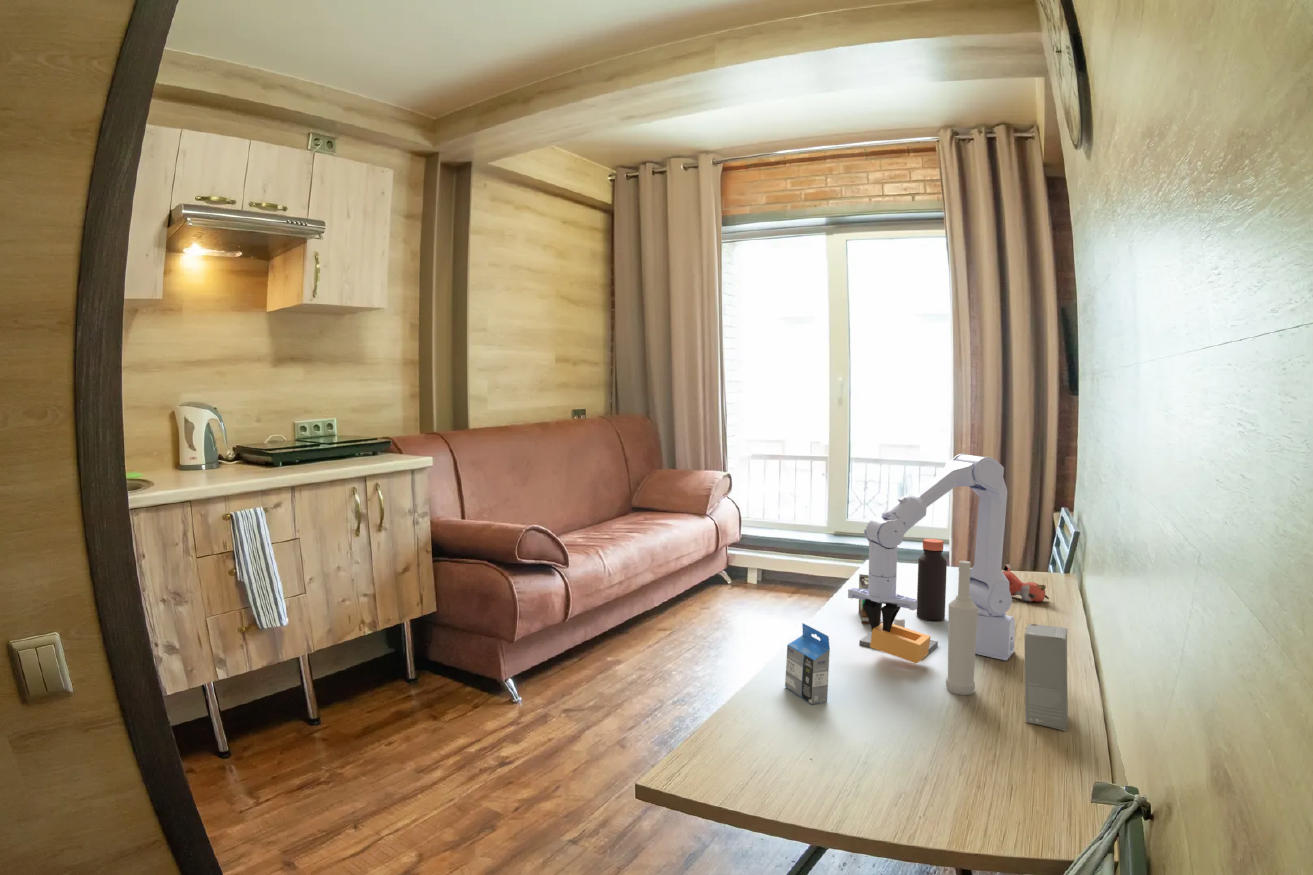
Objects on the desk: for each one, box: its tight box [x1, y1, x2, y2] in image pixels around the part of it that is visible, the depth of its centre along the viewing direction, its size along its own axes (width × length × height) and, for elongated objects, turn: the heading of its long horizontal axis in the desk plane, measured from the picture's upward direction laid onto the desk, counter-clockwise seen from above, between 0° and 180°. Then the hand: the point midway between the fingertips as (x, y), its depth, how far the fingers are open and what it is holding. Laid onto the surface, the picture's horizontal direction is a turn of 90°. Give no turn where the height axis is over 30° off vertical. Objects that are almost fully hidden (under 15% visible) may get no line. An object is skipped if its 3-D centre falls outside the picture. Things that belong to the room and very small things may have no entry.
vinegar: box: [916, 538, 948, 622], centre depth 181 cm, size 7×7×20 cm
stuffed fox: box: [1002, 563, 1050, 603], centre depth 200 cm, size 8×11×12 cm
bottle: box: [945, 560, 978, 696], centre depth 136 cm, size 5×5×25 cm
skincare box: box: [1024, 623, 1069, 732], centre depth 125 cm, size 8×7×16 cm
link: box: [869, 622, 931, 664], centre depth 150 cm, size 10×7×4 cm
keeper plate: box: [859, 617, 939, 656], centre depth 161 cm, size 14×11×6 cm
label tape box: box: [784, 623, 831, 705], centre depth 134 cm, size 9×4×12 cm, turn 23°
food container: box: [858, 573, 883, 625], centre depth 180 cm, size 12×6×10 cm, turn 168°
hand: (880, 636), depth 153 cm, fingers closed on link, 2 cm apart
